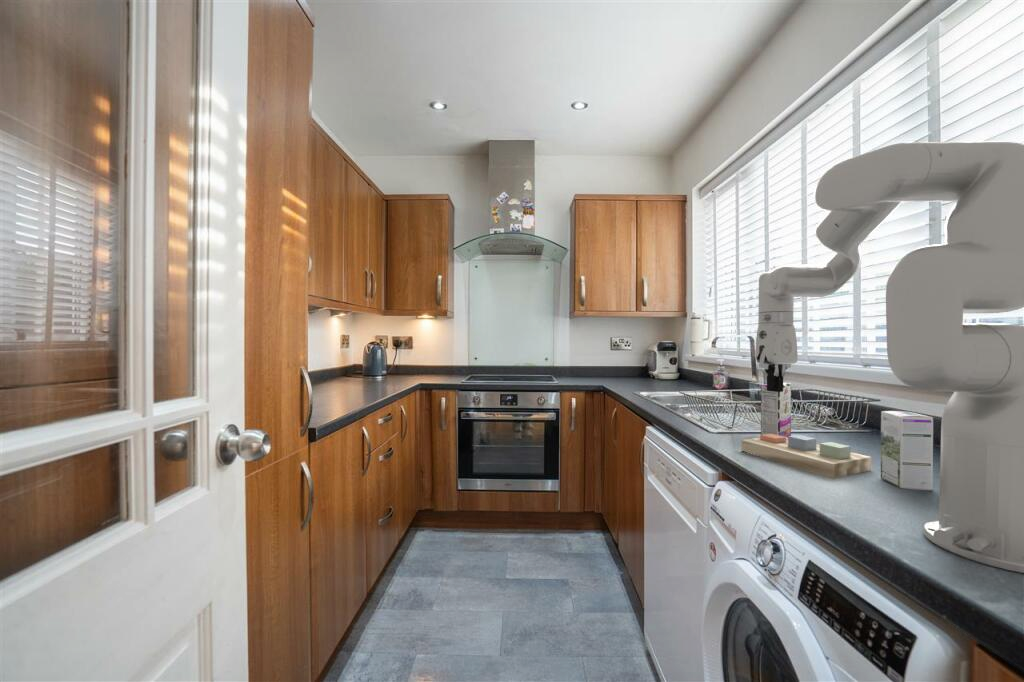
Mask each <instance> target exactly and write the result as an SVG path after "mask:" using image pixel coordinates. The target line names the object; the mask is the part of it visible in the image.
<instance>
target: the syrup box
mask: <svg viewBox="0 0 1024 682" xmlns="http://www.w3.org/2000/svg"><path fill="white" fill-rule="evenodd" d="M933 455H934V417H932V416H929V415H925V414H920V413H915V412H912V411H903V410H883V411H882V410H881V411H880V479H881V480H884V481H886V482H888V483H890V484H892V485H894V486H896V487H898V488H900V489H906V490H918V491H920V490H921V491H933V488H934V481H933V479H934V471H933V470H934V456H933Z"/></svg>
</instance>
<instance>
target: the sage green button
mask: <svg viewBox="0 0 1024 682" xmlns="http://www.w3.org/2000/svg"><path fill="white" fill-rule="evenodd" d="M819 445H820V455H823V456H826V457H830V458H834V459H838V460H844V459H849V458H851V452H852V450H851V448H852V446H850V445H846V444H841V443H838V442H833V441H827V442H821V443H819Z"/></svg>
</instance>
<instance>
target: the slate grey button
mask: <svg viewBox="0 0 1024 682" xmlns="http://www.w3.org/2000/svg"><path fill="white" fill-rule="evenodd" d="M816 444H817V438H815V437H810V436H805V435H800V434H796V435H795V434H794V435H791V436H788V447H791V448H795V449H799V450H803V451H811V450H816Z"/></svg>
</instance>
